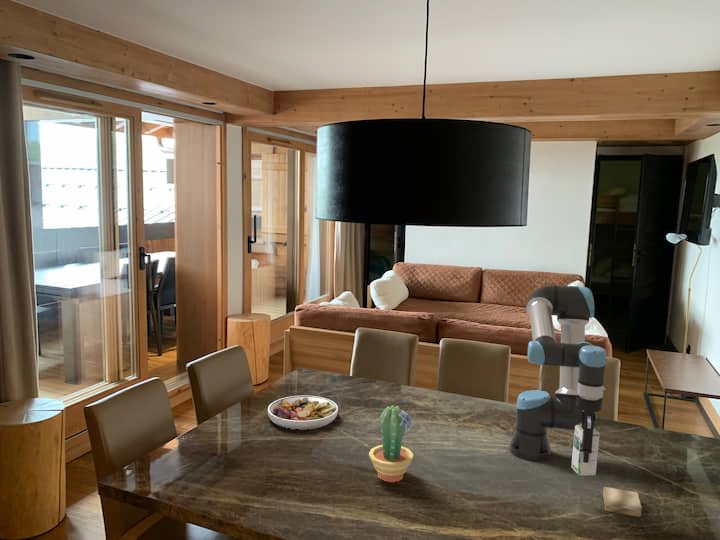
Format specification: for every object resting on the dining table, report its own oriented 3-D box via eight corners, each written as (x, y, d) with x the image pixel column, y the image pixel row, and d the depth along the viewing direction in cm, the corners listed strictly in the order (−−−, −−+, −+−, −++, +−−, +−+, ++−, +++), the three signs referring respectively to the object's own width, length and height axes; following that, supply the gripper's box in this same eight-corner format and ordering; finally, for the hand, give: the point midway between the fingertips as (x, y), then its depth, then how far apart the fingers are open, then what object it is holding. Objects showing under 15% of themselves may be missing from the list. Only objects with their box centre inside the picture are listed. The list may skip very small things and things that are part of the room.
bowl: (300, 401, 269) (300, 384, 268) (351, 416, 251) (352, 399, 250) (253, 420, 245) (253, 402, 244) (306, 439, 227) (306, 420, 226)
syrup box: (570, 466, 185) (573, 424, 183) (588, 466, 186) (591, 424, 183) (578, 476, 180) (582, 432, 177) (596, 475, 180) (600, 432, 178)
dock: (605, 511, 179) (606, 502, 179) (602, 495, 189) (603, 486, 188) (640, 517, 176) (641, 508, 176) (636, 501, 186) (637, 492, 185)
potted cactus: (384, 491, 188) (386, 418, 185) (359, 471, 201) (361, 403, 198) (421, 479, 196) (424, 409, 193) (395, 461, 209) (397, 395, 206)
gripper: (605, 409, 168) (599, 482, 172) (600, 386, 187) (594, 452, 191) (578, 406, 170) (572, 478, 174) (575, 383, 189) (570, 449, 193)
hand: (584, 464), depth 182 cm, fingers closed on syrup box, 7 cm apart
